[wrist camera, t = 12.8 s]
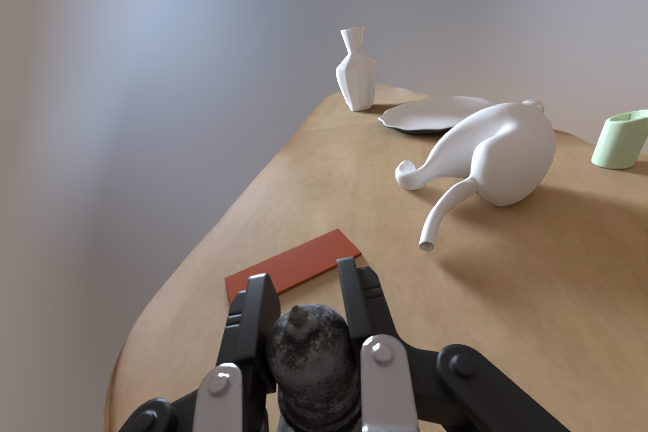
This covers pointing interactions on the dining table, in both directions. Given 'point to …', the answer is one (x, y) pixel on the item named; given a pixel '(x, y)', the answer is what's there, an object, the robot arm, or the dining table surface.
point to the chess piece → (314, 371)
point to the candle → (621, 140)
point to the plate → (432, 114)
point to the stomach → (485, 160)
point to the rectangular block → (297, 263)
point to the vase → (357, 72)
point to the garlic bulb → (535, 104)
